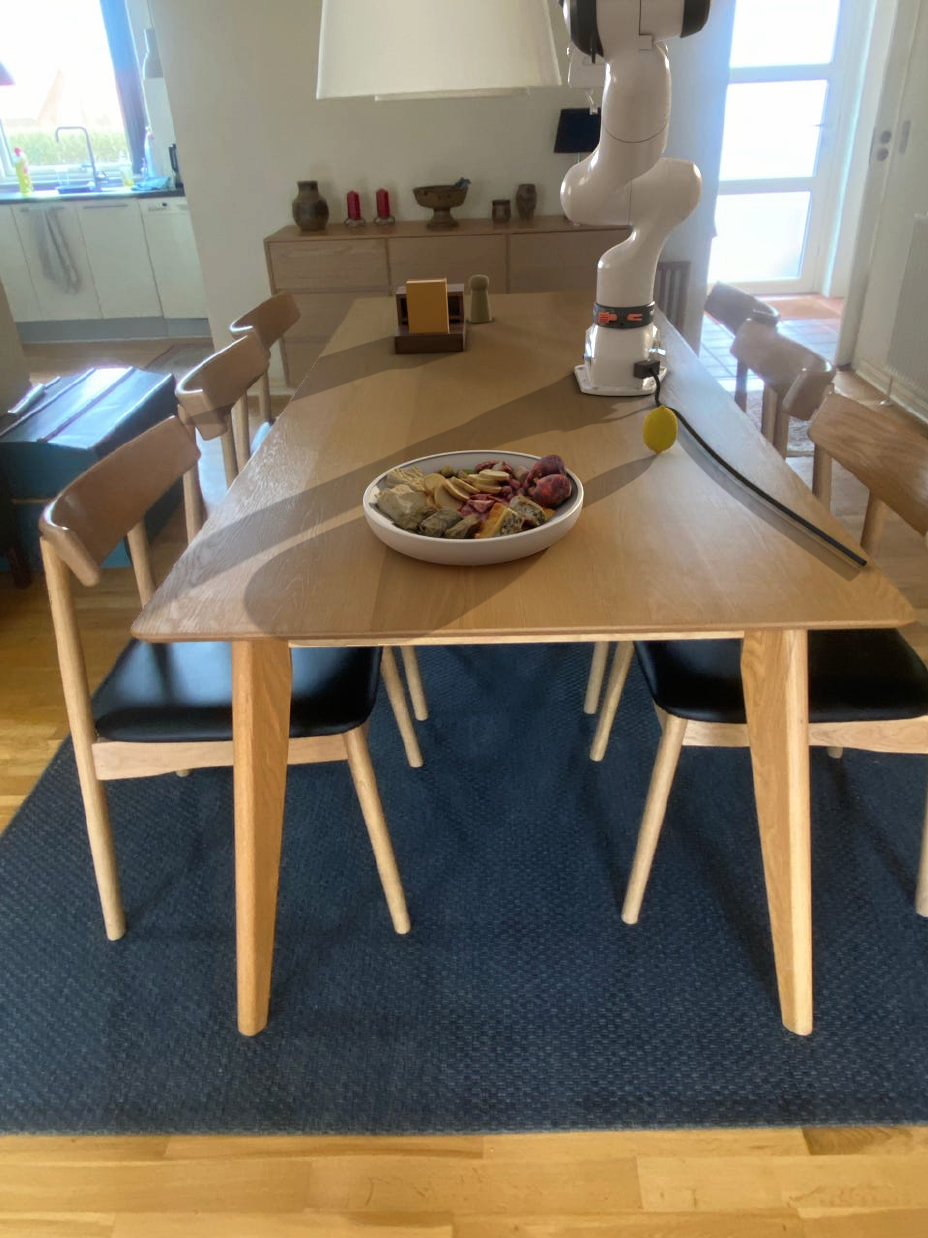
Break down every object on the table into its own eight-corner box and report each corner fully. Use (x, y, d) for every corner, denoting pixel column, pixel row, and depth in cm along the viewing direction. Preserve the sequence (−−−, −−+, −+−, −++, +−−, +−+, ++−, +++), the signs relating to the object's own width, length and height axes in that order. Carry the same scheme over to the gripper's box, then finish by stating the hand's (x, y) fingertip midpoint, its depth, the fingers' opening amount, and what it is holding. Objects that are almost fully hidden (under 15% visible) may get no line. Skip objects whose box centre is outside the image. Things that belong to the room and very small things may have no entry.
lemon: (634, 451, 134) (637, 403, 130) (662, 445, 136) (666, 397, 132) (653, 462, 130) (657, 413, 126) (682, 456, 132) (687, 407, 127)
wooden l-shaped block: (463, 351, 190) (461, 301, 184) (395, 353, 191) (390, 304, 185) (466, 329, 207) (464, 283, 201) (402, 332, 208) (399, 286, 202)
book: (448, 331, 190) (445, 281, 184) (409, 333, 190) (405, 283, 184) (448, 327, 193) (446, 277, 187) (410, 329, 194) (407, 279, 188)
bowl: (411, 599, 99) (406, 541, 94) (340, 505, 122) (333, 455, 118) (624, 543, 108) (628, 488, 104) (521, 466, 131) (520, 418, 127)
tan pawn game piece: (477, 316, 218) (475, 272, 212) (496, 318, 215) (495, 273, 209) (464, 321, 214) (462, 276, 208) (483, 323, 211) (481, 278, 205)
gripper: (566, 34, 163) (565, 115, 170) (672, 27, 159) (666, 111, 166) (569, 35, 168) (567, 115, 175) (671, 29, 164) (665, 110, 172)
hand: (616, 113), depth 171 cm, fingers open, 8 cm apart
